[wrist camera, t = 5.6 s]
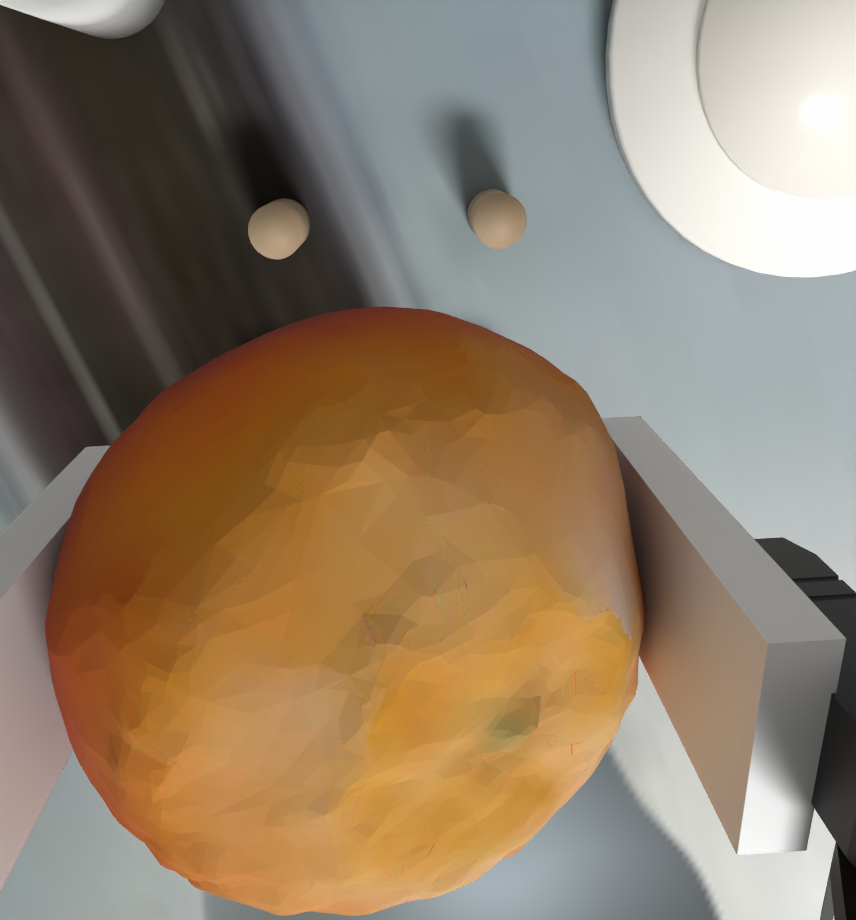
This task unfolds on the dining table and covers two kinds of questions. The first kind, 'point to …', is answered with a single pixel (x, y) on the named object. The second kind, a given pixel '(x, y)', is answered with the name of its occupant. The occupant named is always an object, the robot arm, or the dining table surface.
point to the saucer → (742, 125)
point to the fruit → (349, 611)
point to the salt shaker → (93, 14)
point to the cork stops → (289, 223)
